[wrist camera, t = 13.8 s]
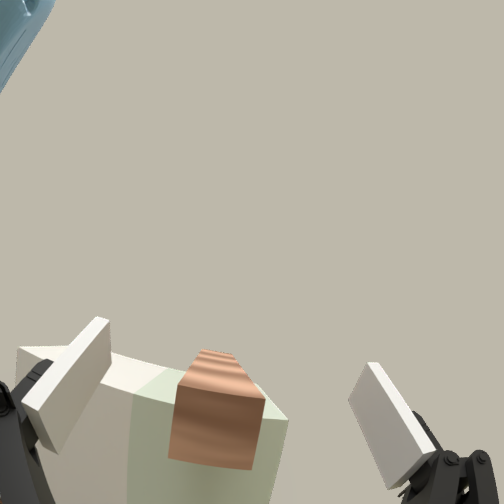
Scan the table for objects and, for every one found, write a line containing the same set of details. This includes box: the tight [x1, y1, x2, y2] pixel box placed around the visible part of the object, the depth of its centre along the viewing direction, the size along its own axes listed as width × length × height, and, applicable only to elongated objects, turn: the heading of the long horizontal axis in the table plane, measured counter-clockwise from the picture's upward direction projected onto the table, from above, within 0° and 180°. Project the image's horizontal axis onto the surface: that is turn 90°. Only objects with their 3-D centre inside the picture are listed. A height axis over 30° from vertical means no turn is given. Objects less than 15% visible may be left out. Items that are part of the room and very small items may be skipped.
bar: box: [168, 349, 266, 470], centre depth 23 cm, size 26×4×4 cm, turn 7°
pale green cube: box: [15, 346, 289, 504], centre depth 23 cm, size 18×26×30 cm
